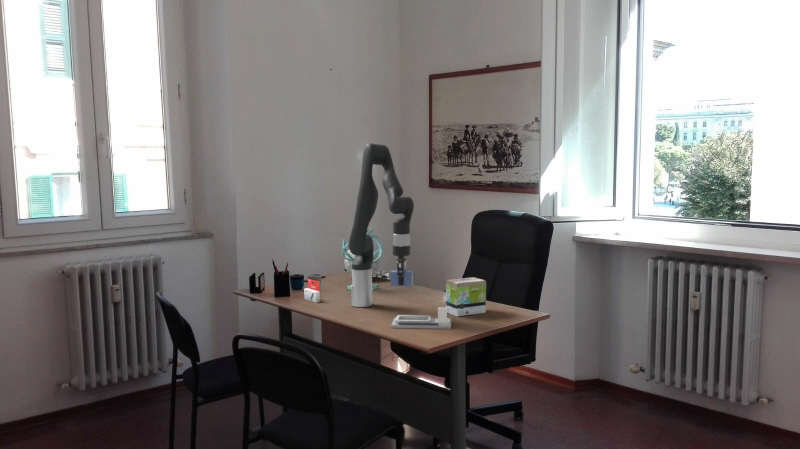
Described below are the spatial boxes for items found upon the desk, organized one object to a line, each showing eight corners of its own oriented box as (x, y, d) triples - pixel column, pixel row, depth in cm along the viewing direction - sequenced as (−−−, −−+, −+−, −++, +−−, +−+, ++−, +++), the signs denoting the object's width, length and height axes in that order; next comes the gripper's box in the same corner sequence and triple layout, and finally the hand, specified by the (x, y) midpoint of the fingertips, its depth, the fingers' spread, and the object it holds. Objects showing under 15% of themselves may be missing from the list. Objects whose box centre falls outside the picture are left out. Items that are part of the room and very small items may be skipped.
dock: (391, 327, 265) (391, 310, 265) (394, 320, 277) (394, 304, 276) (450, 328, 263) (450, 311, 262) (451, 321, 275) (451, 304, 274)
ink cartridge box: (316, 302, 312) (315, 282, 311) (304, 299, 321) (303, 279, 320) (320, 302, 314) (320, 281, 313) (308, 298, 322) (308, 278, 321)
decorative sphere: (386, 279, 366) (386, 244, 364) (355, 283, 355) (354, 247, 353) (368, 274, 383) (368, 240, 380) (338, 278, 372) (337, 243, 370)
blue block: (390, 286, 278) (390, 272, 278) (391, 284, 282) (391, 270, 282) (411, 286, 277) (411, 272, 277) (412, 284, 281) (412, 270, 281)
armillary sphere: (359, 280, 363) (360, 218, 357) (392, 290, 345) (394, 224, 339) (329, 287, 347) (329, 222, 342) (362, 297, 330) (363, 228, 324)
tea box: (457, 317, 281) (457, 283, 279) (445, 312, 290) (445, 279, 288) (486, 313, 288) (486, 279, 286) (473, 308, 297) (473, 276, 295)
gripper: (394, 241, 285) (394, 280, 287) (390, 246, 271) (390, 287, 273) (411, 241, 284) (411, 280, 286) (408, 246, 270) (408, 287, 272)
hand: (401, 283), depth 280 cm, fingers closed on blue block, 4 cm apart
